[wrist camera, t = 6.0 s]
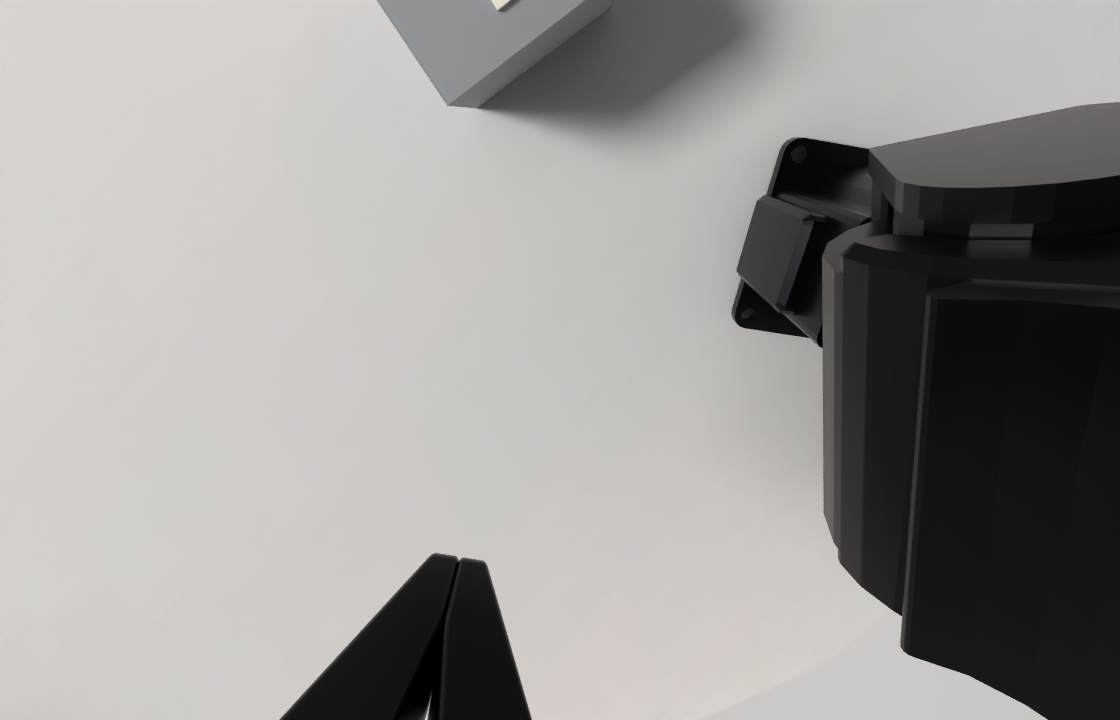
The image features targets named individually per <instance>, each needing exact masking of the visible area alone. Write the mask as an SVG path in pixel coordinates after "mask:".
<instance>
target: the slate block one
mask: <svg viewBox="0 0 1120 720" xmlns="http://www.w3.org/2000/svg"><path fill="white" fill-rule="evenodd" d="M377 1H378V3H379V4H380V6H381V7H382V9H383V10H384V12H385V13H386V15H387V16H388V18H389V19H390V21H391V22H392V24H393V25H394V27H395V28H396V30H397V31H398V33H399V34H400V36H401V37H402V39H403V40H404V42H405V43H406V45H407V46H408V48H409V49H410V51H411V52H412V54H413V55H414V57H415V58H416V60H417V61H418V63H419V64H420V66H421V67H422V69H423V70H424V72H425V73H426V75H427V76H428V77H429V79H430V80H431V82H432V83H433V85H434V86H435V88H436V89H437V91H438V92H439V94H440V95H441V97H442V98H443V100H444V101H445V103H446V104H447V106H457V107H468V108H478V107H479V106H481V105H482V104H483V103H485V102H486V101H487V100H489V99H490V98H491V97H493V96H494V95H495V94H497V93H498V92H499V91H501V90H502V89H503V88H505V87H506V86H507V85H509V84H510V83H511V82H513V81H514V80H515V79H517V78H518V77H519V76H521V75H522V74H523V73H524V72H526V71H527V70H528V69H530V68H531V67H532V66H534V65H535V64H536V63H538V62H539V61H540V60H542V59H543V58H544V57H546V56H547V55H548V54H550V53H551V52H552V51H554V50H555V49H556V48H558V47H559V46H560V45H562V44H563V43H564V42H566V41H567V40H568V39H570V38H571V37H572V36H574V35H575V34H576V33H578V32H579V31H580V30H582V29H583V28H584V27H586V26H587V25H588V24H590V23H591V22H592V21H594V20H595V19H596V18H598V17H599V16H600V15H602V14H603V13H604V12H606V11H607V10H608V9H610V7H611V5H612V2H613V0H377Z"/></svg>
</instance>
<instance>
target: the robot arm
mask: <svg viewBox="0 0 1120 720" xmlns="http://www.w3.org/2000/svg"><path fill="white" fill-rule="evenodd" d="M797 146H799V147H801V149H802V156H801V157H800V159H799V160H797V161H796V162H793V161H792V159H791V153H792V151H793V149H794V148H796V147H797ZM737 272H738V274H739V276H740V277H741V281H740V284H739V288H738V291H737V294H736V298H735V301H734V304H733V308H732V317H733V320H734V321H735V322H736V323H737V324H738V325H739V326H740V327H743V328H748V329H754V330H761V331H767V332H774V333H780V334H787V335H793V336H800V337H806V338H810V339H812V340H813V341H814V342H815V343H816V344H817V345H818V346H819V347H821V348H823V479H824V515H825V518H826V521H827V524H828V527H829V530H830V533H831V536H832V539H833V542H834V543H835V545H836V546H837V548H838V559H839V561H840V564H841V565H842V566H843V567H844V568H845V569H846V570H847V571H848V573H849V574H850V575H851V576H852V577H853V578H854V579H855V580H856V582H857V583H858V584H859V585H860V586H861V587H862V588H864V589H865V590H866V591H868V592H869V593H870V594H872V595H873V596H874V597H876V598H877V599H878V600H880V601H881V602H882V603H884V604H885V605H886V606H888V607H889V608H890V609H891V610H893V611H894V612H896V613H898V614H899V615H901V616H902V625H901V639H900V645H901V648H902V649H903V651H904V652H905V653H907V654H908V655H910V656H913V657H916V658H918V659H921V660H924V661H927V662H930V663H933V664H936V665H939V666H942V667H945V668H948V669H951V670H954V671H957V672H960V673H963V674H966V675H969V676H971V677H973V678H975V679H976V680H978V681H980V682H983V683H984V684H986V685H988V686H990V687H992V688H994V689H996V690H998V691H1000V692H1002V693H1004V694H1006V695H1008V696H1010V697H1011V698H1013V699H1015V700H1017V701H1019V702H1021V703H1023V704H1025V705H1027V706H1028V707H1030V708H1031V709H1033V710H1034V711H1036V712H1037V713H1039V714H1040V715H1042V716H1043V717H1045V718H1046V719H1048V720H1120V102H1115V103H1102V104H1090V105H1082V106H1076V107H1071V108H1066V109H1061V110H1056V111H1051V112H1046V113H1041V114H1036V115H1031V116H1026V117H1021V118H1016V119H1012V120H1007V121H1002V122H997V123H992V124H987V125H982V126H977V127H972V128H967V129H962V130H957V131H952V132H947V133H942V134H937V135H933V136H928V137H923V138H918V139H913V140H908V141H903V142H898V143H893V144H888V145H883V146H878V147H874V148H870V149H865V148H859V147H853V146H848V145H842V144H836V143H831V142H825V141H819V140H813V139H808V138H800V137H798V138H791V139H789V140H787V141H786V142H785V143H784V144H783V145H782V147H781V149H780V151H779V155H778V158H777V161H776V165H775V168H774V171H773V175H772V178H771V181H770V184H769V188H768V191H767V194H766V195H764V196H763V197H762V198H760V199H759V200H757V202H756V205H755V209H754V212H753V216H752V219H751V222H750V226H749V229H748V233H747V236H746V239H745V243H744V246H743V250H742V253H741V256H740V260H739V263H738V267H737ZM749 308H751V309H752V313H751V315H750V316H749V317H747V318H742V317H741V315H742V312H743V311H744V310H746V309H749ZM430 699H431V701H430ZM429 703H430V706H429ZM428 707H429V713H428V720H532V718H531V715H530V711H529V708H528V704H527V701H526V697H525V694H524V691H523V687H522V684H521V680H520V677H519V673H518V670H517V666H516V663H515V660H514V656H513V653H512V649H511V646H510V642H509V639H508V635H507V632H506V628H505V625H504V622H503V618H502V615H501V611H500V608H499V604H498V601H497V597H496V594H495V591H494V587H493V584H492V580H491V577H490V573H489V570H488V566H487V564H486V563H485V562H484V561H482V560H476V559H469V558H461V559H460V560H459V563H458V558H457V557H456V556H451V555H445V554H439V553H434V554H432V555H431V556H430V557H428V559H427V560H426V561H425V562H424V563H423V564H422V565H421V566H420V567H419V568H418V569H417V571H416V572H415V573H414V574H413V575H412V576H411V577H410V578H409V579H408V580H407V581H406V583H405V584H404V585H403V586H402V587H401V588H400V589H399V590H398V591H397V592H396V593H395V594H394V596H393V597H392V598H391V599H390V600H389V601H388V602H387V603H386V604H385V605H384V606H383V608H382V609H381V610H380V611H379V612H378V613H377V614H376V615H375V616H374V617H373V618H372V619H371V621H370V622H369V623H368V624H367V625H366V626H365V627H364V628H363V629H362V630H361V631H360V633H359V634H358V635H357V636H356V637H355V638H354V639H353V640H352V641H351V642H350V643H349V645H348V646H347V647H346V648H345V649H344V650H343V651H342V652H341V653H340V654H339V655H338V656H337V658H336V659H335V660H334V661H333V662H332V663H331V664H330V665H329V666H328V667H327V668H326V670H325V671H324V672H323V673H322V674H321V675H320V676H319V677H318V678H317V679H316V680H315V681H314V683H313V684H312V685H311V686H310V687H309V688H308V689H307V690H306V691H305V692H304V693H303V695H302V696H301V697H300V698H299V699H298V700H297V701H296V702H295V703H294V704H293V705H292V707H291V708H290V709H289V710H288V711H287V712H286V713H285V714H284V715H283V716H282V717H281V718H280V720H425V717H426V714H427V711H428Z"/></svg>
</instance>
